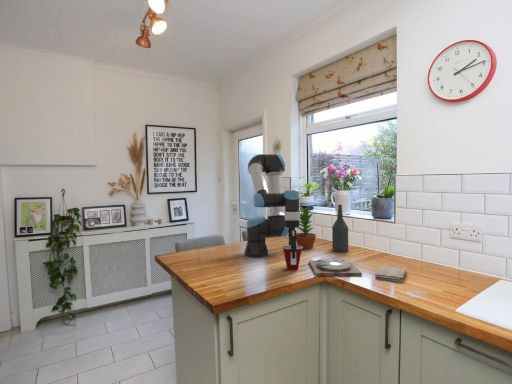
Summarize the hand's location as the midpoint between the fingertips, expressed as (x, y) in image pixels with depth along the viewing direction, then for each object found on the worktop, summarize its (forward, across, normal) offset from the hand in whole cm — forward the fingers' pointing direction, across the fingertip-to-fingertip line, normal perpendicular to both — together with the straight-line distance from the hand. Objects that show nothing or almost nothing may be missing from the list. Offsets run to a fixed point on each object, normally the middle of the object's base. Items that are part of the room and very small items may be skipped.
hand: (292, 261), depth 151 cm
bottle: (+4, +40, -35) cm, 53 cm away
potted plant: (+4, +48, -13) cm, 50 cm away
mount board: (+4, -1, -21) cm, 21 cm away
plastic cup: (+4, 0, 0) cm, 4 cm away
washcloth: (+4, -11, -46) cm, 47 cm away
